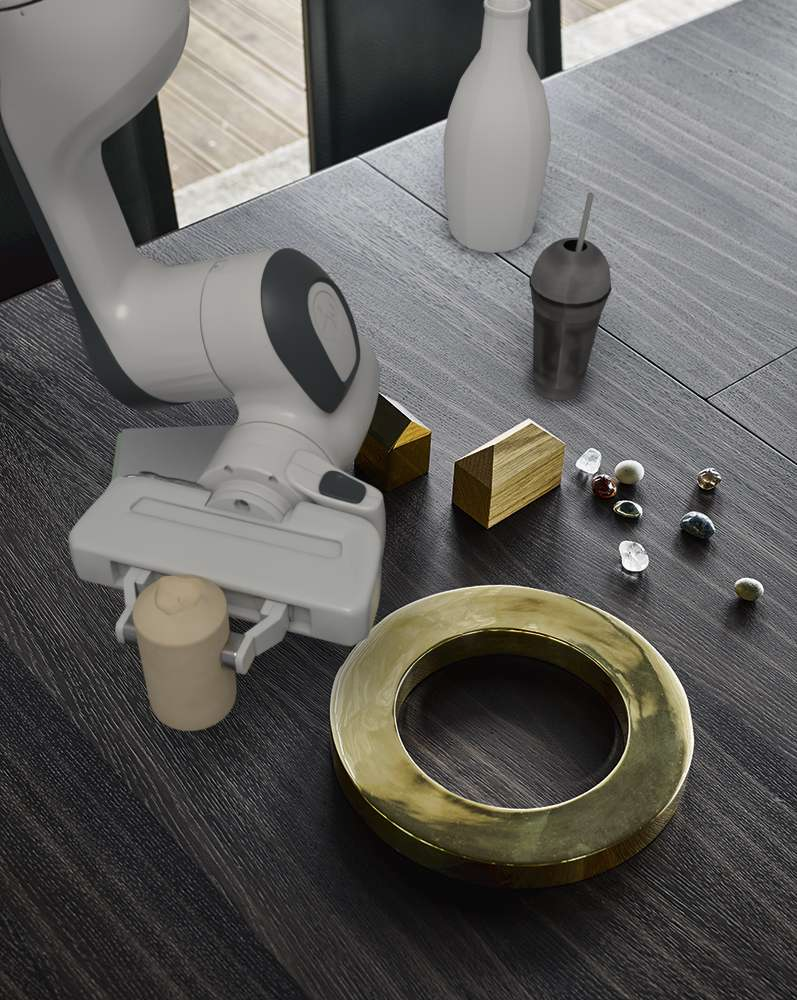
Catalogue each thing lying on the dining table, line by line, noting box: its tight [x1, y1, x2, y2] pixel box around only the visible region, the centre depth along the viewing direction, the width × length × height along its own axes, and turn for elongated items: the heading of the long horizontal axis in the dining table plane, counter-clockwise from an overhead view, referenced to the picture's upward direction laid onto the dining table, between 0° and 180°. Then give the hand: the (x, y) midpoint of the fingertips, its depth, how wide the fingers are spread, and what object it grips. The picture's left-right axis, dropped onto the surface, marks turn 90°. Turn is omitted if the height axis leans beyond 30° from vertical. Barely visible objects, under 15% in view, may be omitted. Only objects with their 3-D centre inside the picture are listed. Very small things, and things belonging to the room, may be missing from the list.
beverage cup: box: [528, 191, 612, 402], centre depth 112 cm, size 7×7×20 cm
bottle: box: [443, 0, 552, 254], centre depth 129 cm, size 11×11×25 cm
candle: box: [132, 574, 238, 732], centre depth 76 cm, size 6×6×10 cm
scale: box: [110, 424, 235, 483], centre depth 105 cm, size 12×12×4 cm
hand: (179, 652), depth 75 cm, fingers closed on candle, 5 cm apart
